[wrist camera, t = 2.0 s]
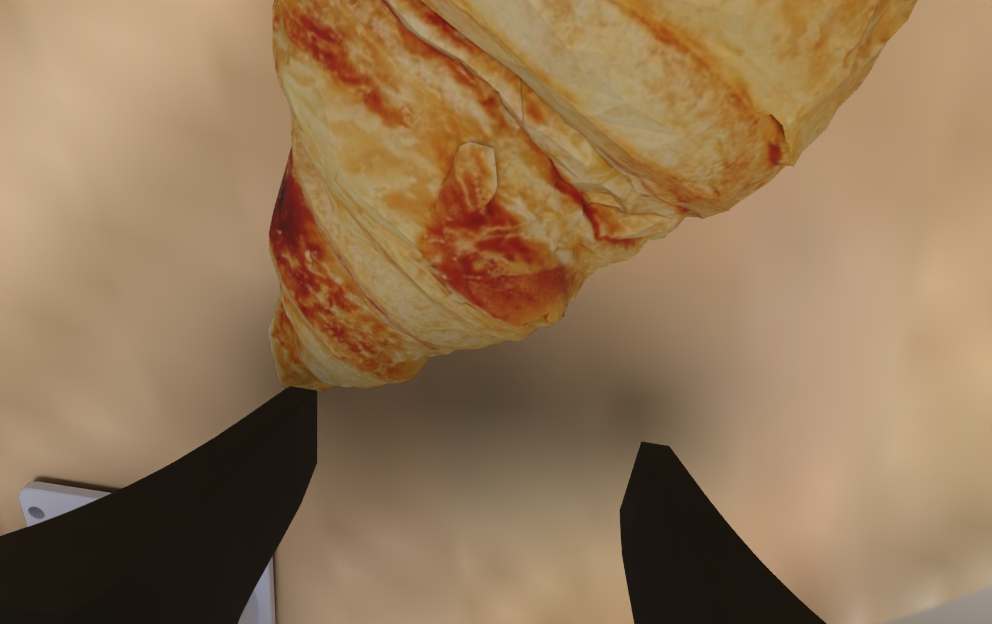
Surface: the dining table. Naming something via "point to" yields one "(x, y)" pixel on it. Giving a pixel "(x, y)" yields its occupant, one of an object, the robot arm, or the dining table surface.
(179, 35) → the dining table surface
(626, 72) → the croissant
